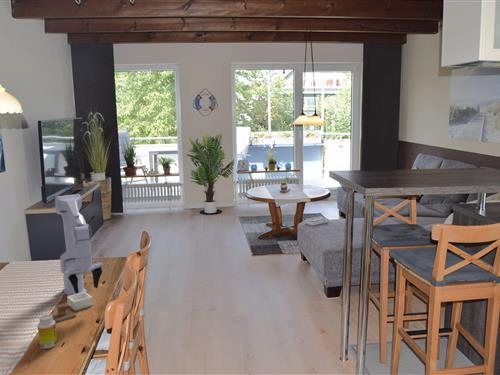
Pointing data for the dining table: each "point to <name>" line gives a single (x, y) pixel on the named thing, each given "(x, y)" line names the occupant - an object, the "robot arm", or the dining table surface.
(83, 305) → the dish
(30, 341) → the dining table surface
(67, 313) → the lid
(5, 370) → the dining table surface
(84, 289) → the robot arm
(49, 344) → the supplement bottle
